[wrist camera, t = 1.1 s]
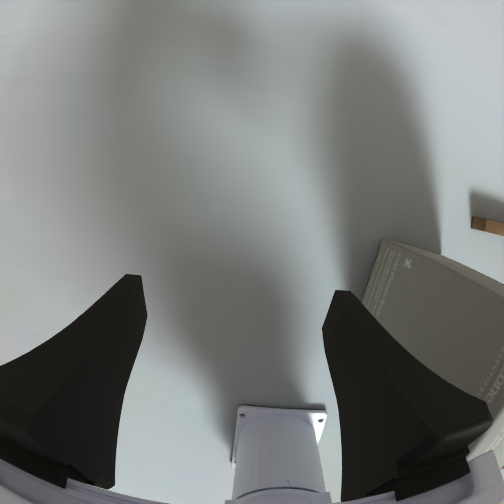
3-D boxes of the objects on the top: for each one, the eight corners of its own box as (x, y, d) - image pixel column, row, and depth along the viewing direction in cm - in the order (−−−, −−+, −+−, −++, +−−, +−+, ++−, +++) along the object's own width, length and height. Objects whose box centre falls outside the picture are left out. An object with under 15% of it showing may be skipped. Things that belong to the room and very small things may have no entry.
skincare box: (379, 235, 21) (546, 306, 5) (450, 257, 21) (599, 325, 5) (345, 338, 23) (426, 500, 7) (416, 350, 23) (516, 471, 7)
